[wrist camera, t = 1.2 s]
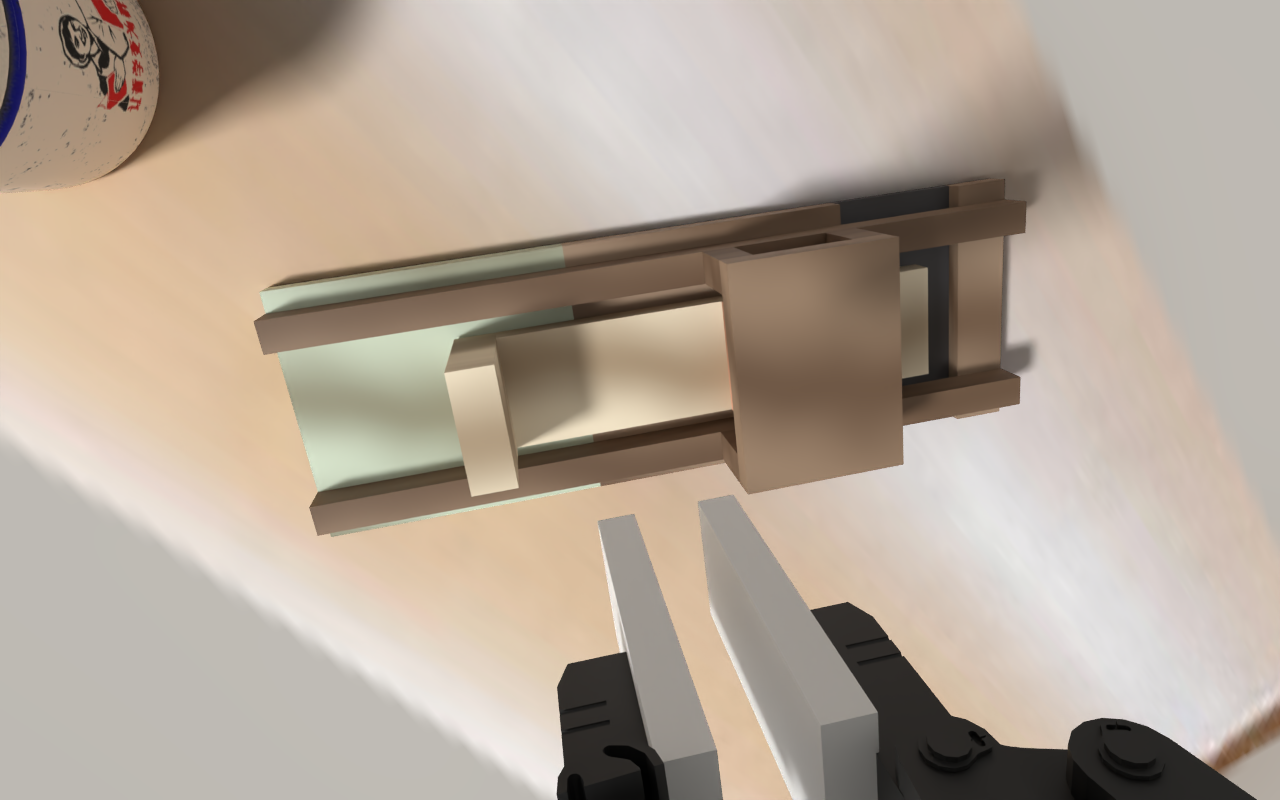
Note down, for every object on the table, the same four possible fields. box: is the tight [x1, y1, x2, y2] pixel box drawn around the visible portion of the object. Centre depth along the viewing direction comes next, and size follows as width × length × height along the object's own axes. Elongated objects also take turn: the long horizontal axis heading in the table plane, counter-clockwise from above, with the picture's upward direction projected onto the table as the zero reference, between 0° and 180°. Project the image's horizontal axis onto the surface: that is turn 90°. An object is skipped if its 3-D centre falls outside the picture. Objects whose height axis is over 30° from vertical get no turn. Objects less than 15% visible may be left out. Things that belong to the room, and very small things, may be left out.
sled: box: [444, 264, 929, 497], centre depth 28 cm, size 4×19×5 cm, turn 97°
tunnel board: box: [254, 179, 1026, 537], centre depth 29 cm, size 10×29×6 cm, turn 97°
